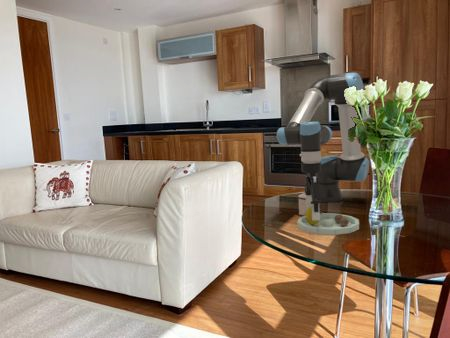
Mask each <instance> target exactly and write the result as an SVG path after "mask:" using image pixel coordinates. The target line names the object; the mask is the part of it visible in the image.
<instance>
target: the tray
mask: <svg viewBox="0 0 450 338" xmlns="http://www.w3.org/2000/svg"><path fill="white" fill-rule="evenodd" d="M338 214H340V215H342V216H343V217H345V218H347V219H348V221H349V223H348V225H347V226H341V225H340V223H337V222H336V221H335V216H336V215H338ZM296 225H297V228H298V229H300V230H301V231H303V232H307V233H311V234H315V235H324V236H325V235H329V236H338V235H345V234H352V233H353V232H356V231H358V230H360V219H358V218H357V217H354V216H351V215H349V214H348V215H347V214H341V213H331V212H330V213H328V212H326V213H324V212H320V220H319V222H318V223H317V224H315V225H314V226H312V225H311V224H309V223H308V222H307V221H306V217H305V215H302V216H300V217H299V218H298V220H297V224H296Z"/></svg>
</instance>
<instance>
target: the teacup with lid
mask: <svg viewBox="0 0 450 338" xmlns="http://www.w3.org/2000/svg"><path fill="white" fill-rule="evenodd" d="M306 196H307V195H306V194H305V191H304V192H303V193H301V194H299V195H298V196H297V198H298V216H305V215H306Z"/></svg>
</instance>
